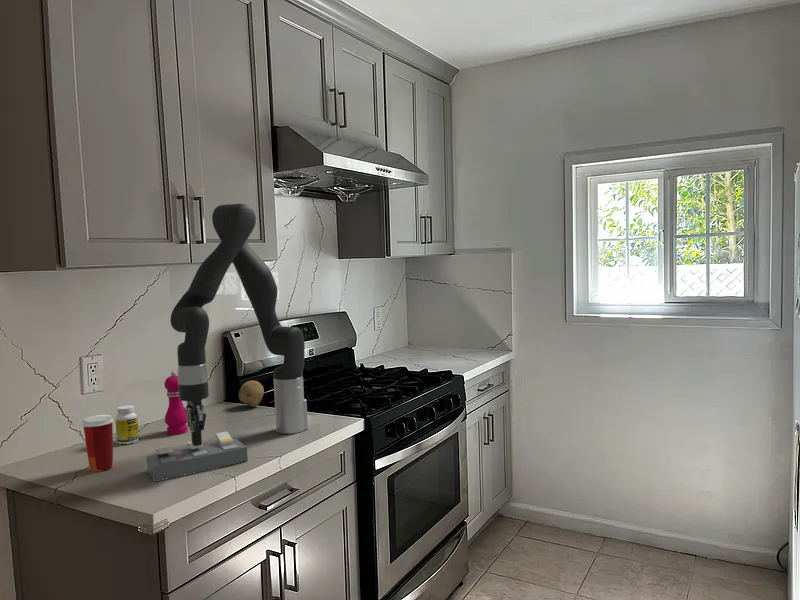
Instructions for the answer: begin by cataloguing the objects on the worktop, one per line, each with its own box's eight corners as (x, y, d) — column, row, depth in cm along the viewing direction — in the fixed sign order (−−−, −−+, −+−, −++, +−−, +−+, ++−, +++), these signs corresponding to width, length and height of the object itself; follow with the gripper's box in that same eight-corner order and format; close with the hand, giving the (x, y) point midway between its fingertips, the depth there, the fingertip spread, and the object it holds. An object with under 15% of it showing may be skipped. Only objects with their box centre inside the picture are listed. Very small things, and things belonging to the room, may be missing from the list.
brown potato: (247, 411, 220) (246, 384, 219) (234, 407, 226) (233, 381, 225) (269, 406, 226) (267, 379, 226) (255, 402, 233) (254, 377, 232)
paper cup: (121, 462, 170) (118, 413, 168) (109, 472, 162) (105, 421, 161) (93, 464, 169) (89, 414, 168) (79, 474, 162) (75, 422, 161)
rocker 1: (168, 451, 165) (168, 446, 165) (172, 451, 160) (172, 446, 161) (156, 454, 163) (155, 449, 163) (160, 454, 159) (159, 449, 159)
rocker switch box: (236, 451, 175) (235, 437, 175) (247, 461, 167) (246, 445, 167) (147, 470, 163) (146, 454, 162) (155, 481, 154) (154, 465, 154)
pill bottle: (130, 445, 185) (128, 409, 184) (112, 444, 186) (109, 409, 185) (143, 439, 191) (140, 404, 190) (125, 438, 192) (123, 404, 191)
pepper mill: (164, 436, 193) (160, 374, 191) (166, 430, 200) (162, 370, 198) (188, 433, 195) (184, 372, 193) (190, 427, 202) (186, 368, 200)
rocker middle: (198, 444, 169) (198, 439, 169) (203, 446, 165) (203, 441, 165) (187, 446, 167) (186, 442, 167) (191, 449, 163) (191, 444, 163)
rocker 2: (227, 435, 173) (227, 431, 173) (232, 444, 169) (233, 440, 169) (215, 437, 172) (215, 433, 171) (221, 446, 168) (221, 442, 167)
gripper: (214, 382, 159) (218, 447, 160) (200, 375, 170) (204, 436, 172) (184, 386, 155) (188, 453, 156) (172, 379, 166) (176, 441, 168)
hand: (196, 444), depth 164 cm, fingers closed
